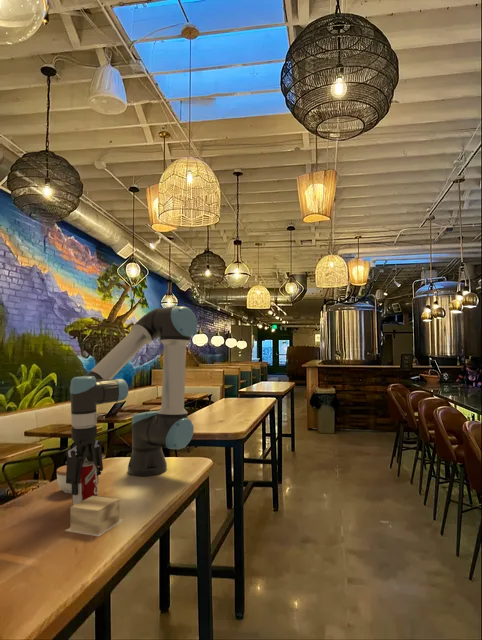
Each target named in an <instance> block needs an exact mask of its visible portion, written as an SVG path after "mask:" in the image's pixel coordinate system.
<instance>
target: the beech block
mask: <svg viewBox="0 0 482 640" xmlns="http://www.w3.org/2000/svg"><path fill="white" fill-rule="evenodd" d="M69 509H70V510H69V511H70V513H69V514H70V519H69V520H70V527H69V528H70V530H76V531H82V532H88V533H94V534H99V533H101V532H102V531H104V530H105V529H107V528H109V527H110V526H112V525H113V524H115V523H117V522H118V521H119V519H120V499H119V498H114V497H106V496H99V495H98V496H91V497H89V498H87V499H85V500H83V501H81V502H79V503H77V504H75V505H73V504H72V505H71V506H70V507H69Z"/></svg>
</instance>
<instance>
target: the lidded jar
mask: <svg viewBox="0 0 482 640" xmlns="http://www.w3.org/2000/svg"><path fill="white" fill-rule="evenodd" d="M66 470H67V464H65V465H62V466H60V467H58V468H57V469H56V478H57V479H56V480H57V484H58V487H59V488H60V489H61V490H62V491H63V493H65V494H72V485H71V484H67V483H66Z"/></svg>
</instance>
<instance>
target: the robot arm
mask: <svg viewBox="0 0 482 640" xmlns="http://www.w3.org/2000/svg"><path fill="white" fill-rule="evenodd" d="M197 329H198V320H197V317H196V315H195V313H194V312H193V310H192V309H190V308H189V307H187V306H178V305H177V306H176V305H175V306H169V307H159V308H158V307H157V308H154V309H153V310H150V311H149V312H147V313H146V314H144V315H143V316H142V317H140V318H139V319H138V320H137V321H136V322H135V323H134V324H133V325H132V326H131V328H130V330H131V331H129V333H128V334H127V335H125V337H124V338H122V339H121V341H119V342H118V343H117V344H116V345H115V346H114V347H113V348H112V349H111V350H110V351H109V352H108V353H107V354H106V355H105V356H104V357H103V358H102V359H101V360H100V361H99V362H98V363H97V364H95V366H94V367H93V368H92V369H90V370H89V372H88V373H86V374H85V375H83V376H74V377H73V378H72V379H71V380H70V386H69V393H70V413H71V414H70V415H71V420H70V421H71V427H72V428H71V440H72V441H73V446H72V448H71V449H67V450H66V452H65V454H66V465H67V470H66V483H67V484H71V485H72V493H71V495H72V506H73V505H75V504H77V503H79V502H81V501H82V488H81V483H79V481H80V476H81V472H82V467H83V462H84V461H89V462H92V461H94V465H95V466H96V468H97V496H99V476H102V471H104V466H103V455H102V442H103V441H102V440H98V439H97V440H96V438H97V436H98V426H97V424H98V418H97V417H98V416H97V415H98V414H97V406H98V405H104V404H110V403H115V402H116V403H117V402H121V401H123V400H126V398H127V397H128V396H129V386H128V385H129V384H128V383H127V381H126V380H125V379H124V378H115V377H116V375H117V374H118V373H119V372H120V371H121V370H122V369H123V368H124V366H126V365H127V364H128V363H129V362H130V361H131V360H132V359H133V357H134V356H135V355H137V354H138V352H140V351H141V349H142V348H143V347H145V345H149V344H151V343H152V342H153V340H155V339H159V338H160V339H159V340H160V342H161V343H162V345H163V360H162V385H161V387H162V388H161V389H162V390H161V405H160V406H161V407H160V408H159V410H151V411H145V412H144V411H143V412H140V413H135V414H133V415H132V420H131V445H132V446H131V449H132V450H131V455H130V458H129V461H128V465H127V474H130V475H131V476H136V477H137V476H138V477H140V476H141V477H147V476H148V477H149V476H154V475H159V474H162V473H164V472H166V471H167V469H168V468H167V467H168V465H167V461H166V457H165V454H164V452H163V448H166V449H168V450H169V449H170V450H181V449H184V448H186V446H188V444H189V443H190V442H191V440H192V439H193V435H194V429H195V428H194V423H193V422H192V420H191V419H189V418H188V417H189V416H188V415H189V412H188V411H187V410H186V409H185V393H186V391H185V390H186V389H185V388H186V387H185V385H186V361H187V360H186V359H187V358H186V357H187V345H188V344H189V343H190V342H191V337H192V336H193V335H195V332H197ZM75 479H76V480H75Z"/></svg>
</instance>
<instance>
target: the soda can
mask: <svg viewBox="0 0 482 640" xmlns="http://www.w3.org/2000/svg"><path fill="white" fill-rule="evenodd" d="M75 480H76V479H75ZM79 483H81V488H82V501H83V500H85V499H87V498H89V497H91V496H97V468H96V466H95V465H94V461H92V462H89V461H87V460H85V461H84V462H83V467H82V472H81V476H80V481H79Z"/></svg>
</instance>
